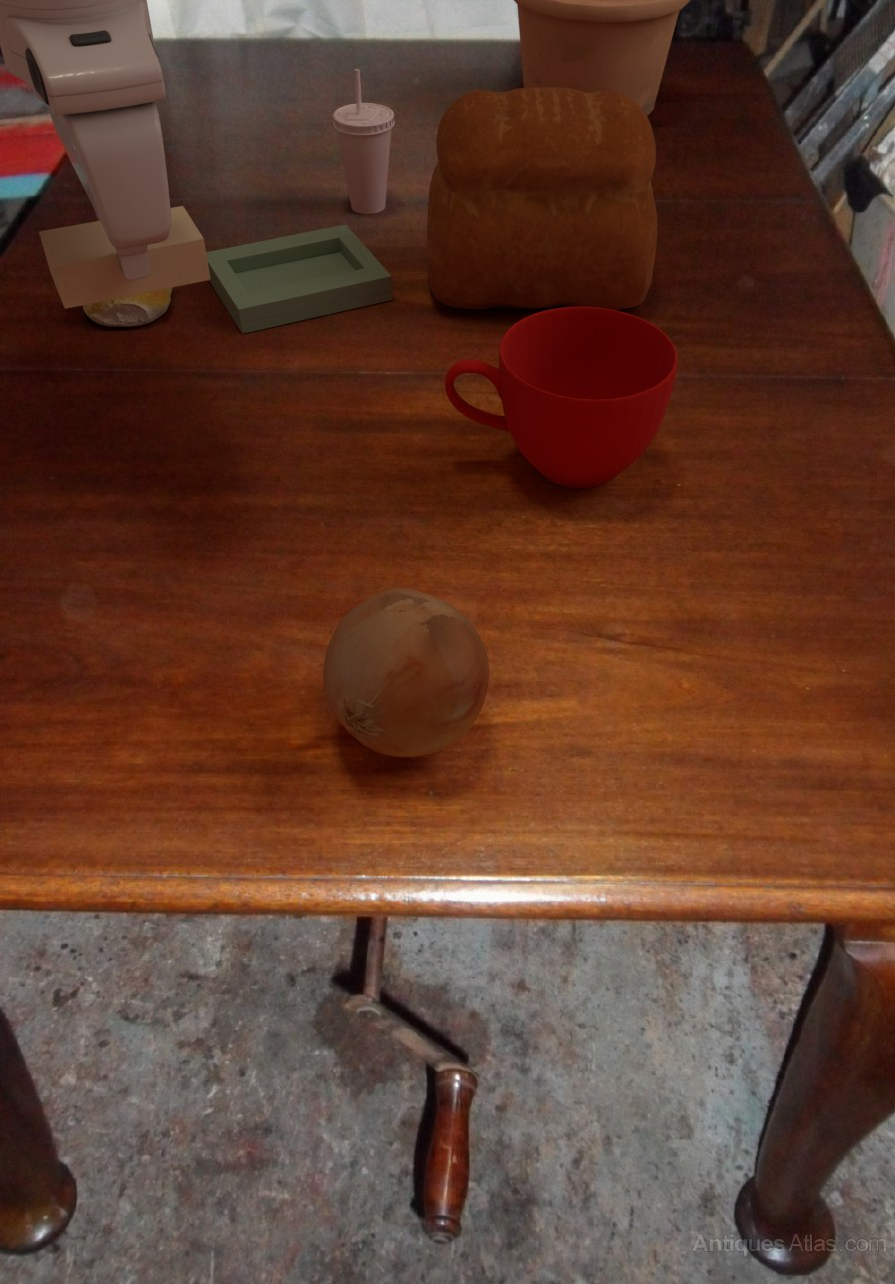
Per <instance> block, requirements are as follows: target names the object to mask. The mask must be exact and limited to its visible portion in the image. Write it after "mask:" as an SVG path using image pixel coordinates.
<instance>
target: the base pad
mask: <svg viewBox="0 0 895 1284" xmlns="http://www.w3.org/2000/svg"><path fill="white" fill-rule="evenodd" d="M206 255H207V261H208V267H209V273H210V280H208V282H209V283H210V285H211V287H213V290H214V291H215V293H216V295H217V296H218V298H219V299H220V301H221V302H222V304H223V306H224V308H225V309H226V310H227V312H228V314H229V315H230V316H231V318H232V320H233V321H234V323H235V324H236V325H235V326H237V328H238V329H239V331H240V333H241V334H243V335H244V334H249V333H254V332H258V331H262V330H267V329H270V328H274V327H279V326H284V325H289V324H293V323H297V322H301V321H306V320H310V319H314V318H318V317H323V316H328V315H332V314H337V313H341V312H345V311H350V310H354V309H359V308H363V307H368V306H372V305H376V304H381V303H385V302H391V301H392V300H393V281H392V279H393V278H392V277H393V276H392V275H391V273H389V272H388V271H389V270H387V268H385V267H384V265H382V263H381V262H380V261H379V260H378V259H377V258H376V256H374V254H373V252H371V251H370V250H369V249H368V248H367V246H366V245H365V244H364V243H363V241H361V239H360V238H359V237H358V236H357V235H356V234H355V233H354V231H352V229H351V228H350V227H349V226H348V225H347V224H341V225H335V226H330V227H325V228H320V229H316V230H310V231H306V232H300V233H296V234H291V235H286V236H281V237H275V238H270V239H266V240H260V241H256V242H250V243H246V244H241V245H237V246H230V247H226V248H221V249H216V250H211V251H210V250H209V251H206Z"/></svg>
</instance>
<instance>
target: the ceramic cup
mask: <svg viewBox="0 0 895 1284" xmlns="http://www.w3.org/2000/svg"><path fill="white" fill-rule="evenodd" d="M678 365H679V364H678V352H677V349H676V346H675V345H674V343H673V341H671V339H670V338H669V337H668V336H667V334H666V333H665V332H664V331H662V329H660V328H658V326H656V325H654V324H652V323H651V322H649V321H647V320H646V319H643V318H641V317H639V316H636V315H634V314H631V313H628V312H623V311H621V310H611V309H605V308H599V307H583V306H582V307H576V306H563V307H558V308H557V307H556V308H551V309H547V310H542V311H539V312H536V313H534V314H531V315H528V316H526V317H524V318H522V319H520V320H519V321H517V322H516V323H514V324H513V325H512V326H511V327H510V328H509V329H507V331H506V332H505V334H504V335H503V337H502V339H501V340H500V345H499V350H498V367H496V366H494V365H492V364H490V363H488V362H485V361H482V360H478V359H469V358H467V359H462V360H459V361H456V362H454V363H453V364H452V365H451V366H450V367H449V368H448V371H447V372H446V374H445V378H444V390H445V394H446V396H447V398H448V400H449V402H450V403H451V405H452V406H453V407H454V408H455V410H456V411H458V412H459V413H460V414H462V415H463V416H464V417H466V418H468V419H469V420H472V421H474V422H477V423H478V424H481V425H484V426H487V427H491V428H494V429H497V430H501V431H505V432H509V435H510V436H511V438H512V440H513V442H514V444H515V447H517V449H518V451H519V452H520V453H521V455H522V456H523V457H524V458H525V459H526V461H528V463H529V464H530V465H531V466H532V467H533V468H535V470H537V471H538V472H539V474H540V475H541V476H542V477H544V478H545V479H546V480H547V481H550V482H552V483H554V484H556V485H559V486H562V487H566V488H571V489H589V488H594V487H597V486H601V485H604V484H606V483H607V482H609V481H611V480H612V479H614V478H615V477H616V476H618V475H620V474H621V473H623V472H624V471H625V470H627V469H628V468H629V467H630V466H632V465H633V464H634V463H635V462H636V461H637V460H639V459H640V457H641V456H642V455H643V454H644V453H645V451H646V450H647V449H648V448H649V446H650V445H651V443H652V442H653V440H655V437H656V435H657V433H658V432H659V429H660V427H661V426H662V423H663V420H664V417H665V414H666V412H667V408H668V406H669V402H670V400H671V396H672V392H673V389H674V386H675V381H676V377H677V374H678V373H677V371H678ZM463 374H477V375H481V376H483V377H485V378H486V379H487V380H489V381H490V383H492V384H493V386H494V387H495V390H496V392H497V395H498V397H499V399H500V400H501V406H502V411H503V415H501V414H495V413H493V412H492V413H491V412H489V411H485V410H483V409H481V408H478V407H477V406H474V405H472V404H470V403H468V402H467V401H466V400H465V399H463V398H462V396H461V395H459V392H458V391H457V390H456V387H455V384H454V383H455V380H456V378H457V377H459V376H460V375H463Z"/></svg>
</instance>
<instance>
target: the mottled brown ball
mask: <svg viewBox="0 0 895 1284" xmlns="http://www.w3.org/2000/svg"><path fill="white" fill-rule="evenodd" d="M324 655H325V656H324V662H323V669H322V680H323V687H324V688H323V689H324V694H325V698H326V701H327V703H328V706H329V708H330V710H331V712H332V714H333V715H334V716H335V718H336V719H337V721H338V722H339V723H340V724H341V725H342V727H343V728H344V729H345V730H346V732H347V733H348V734H349V735H351V736H352V737H353V738H355V739H356V740H357V741H358V742H359V743H360V744H362V746H365V747H366V748H368V749H370V750H371V751H373V752H375V753H377V754H381V755H385V756H389V757H397V758H416V757H417V758H419V757H423V756H427V755H433V754H437V753H439V752H442V751H444V750H446V749H448V748H449V747H452V746H453V745H455V744H456V743H458V742H459V741H460V740H461V739H462V738H463V737H464V736H465V735H466V734H467V732H469V730H471V728H472V726H473V724H474V723H475V721H476V719H477V718H478V716H479V715H480V713H481V711H482V709H483V706H484V703H485V701H486V697H487V692H488V687H489V682H490V662H489V657H488V653H487V649H486V647H485V645H484V643H483V641H482V639H481V636H480V634H479V633H478V630H477V629H476V628H475V626H474V625H473V624H472V623H471V621H470V620H469V619H468V617H467V616H466V615H465V614H464V613H463V612H462V611H460V610H459V609H458V608H457V607H455V606H454V605H452V604H450V603H448V602H447V601H445V600H443V599H440V598H439V597H437V596H434V595H431V594H428V593H425V592H423V591H420V590H416V589H413V588H405V587H392V588H391V587H390V588H387V589H385V590H382V591H380V592H378V593H375V594H374V595H372V596H370V597H368V598H367V599H365V600H363V601H362V602H360V603H358V604H357V605H356V606H354V607H353V608H352V609H350V610H349V611H348V612H347V613H346V614H345V615H344V617H343V618H342V619H341V621H340V622H339V623H338V625H337V627H336V628H335V630H334V631H333V634H332V636H331V638H330V641H329V643H328V645H327V649H326V651H325V654H324Z"/></svg>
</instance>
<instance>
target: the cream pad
mask: <svg viewBox="0 0 895 1284" xmlns="http://www.w3.org/2000/svg"><path fill="white" fill-rule="evenodd" d="M170 208H171V228H170V234H169V237H168V239H167V240H165V241H162V242H159V243H154V244H149V245H147V254H148V259H149V264H150V269H151V272H150V275H149V276H148V277H146V278H142V279H137V280H132V281H130V280H127V279H126V278H125V277H124V275H123V273H122V271H121V269H120V266H119V262H118V258H117V254H116V249H115V247H113V246H112V244H111V243H110V241H109V239H108V237H107V235H106V232H105V230H104V228H103V226H102V224H101V222H100V221H97V220H95V221H90V222H85V223H84V222H83V223H80V224H79V223H78V224H73V225H68V226H63V227H57V228H51V229H45V230H40V231H38V234H39V236H40V237H39V238H40V240H41V244H42V247H43V248H42V249H43V251H44V254H45V258H46V262H47V265H48V269H49V273H50V275H51V277H52V280H53V282H54V285H55V288H56V290H57V292H58V293H57V294H58V296H59V297H60V300H61V303H62V305H63V308H64V309H65V310H66V309H71V308H77V307H81V306H82V307H83V305H87V304H92V303H97V302H102V301H107V300H112V299H117V298H122V297H127V296H132V295H137V294H142V293H147V292H152V291H157V290H162V289H167V288H172V287H173V288H176V287H182V286H187V285H190V284H197V283H201V282H207V281H209V280H210V273H209V267H208V261H207V255H206V252H207V250H206V243H205V239H204V236H203V235H202V234H201V232H200V230H199V229H198V227H197V225H196V224H195V223H194V221H193V219H192V218H191V216H190V215H189V213H188V211H187V209H185V206H184V205H180V206H174V207H170Z"/></svg>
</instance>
